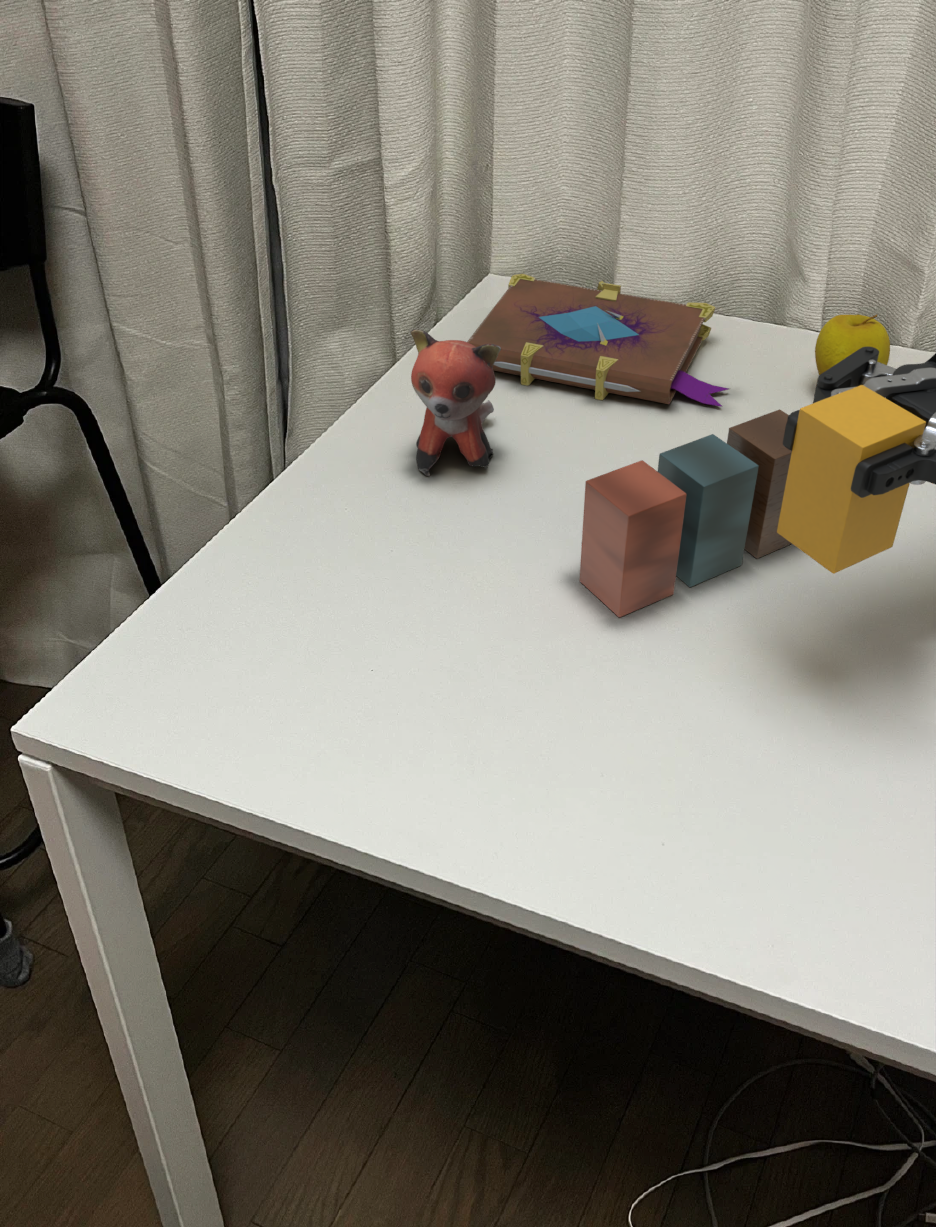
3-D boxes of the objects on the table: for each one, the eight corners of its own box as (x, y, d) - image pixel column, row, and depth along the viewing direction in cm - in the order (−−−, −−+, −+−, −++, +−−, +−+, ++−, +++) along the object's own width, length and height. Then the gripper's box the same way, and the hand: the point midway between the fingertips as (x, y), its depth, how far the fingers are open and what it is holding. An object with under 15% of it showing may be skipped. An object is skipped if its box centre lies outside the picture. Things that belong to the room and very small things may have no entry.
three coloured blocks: (762, 506, 96) (779, 408, 90) (805, 538, 93) (827, 438, 87) (578, 581, 89) (585, 480, 83) (619, 618, 86) (628, 516, 80)
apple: (892, 404, 108) (913, 323, 103) (827, 413, 107) (844, 332, 102) (859, 370, 113) (877, 291, 107) (796, 379, 112) (811, 299, 106)
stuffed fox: (520, 421, 106) (522, 296, 99) (492, 492, 98) (492, 361, 90) (438, 412, 108) (433, 287, 100) (404, 481, 99) (396, 351, 92)
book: (715, 430, 106) (721, 381, 103) (459, 379, 114) (457, 332, 110) (756, 339, 117) (762, 293, 114) (520, 298, 125) (520, 254, 121)
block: (834, 507, 77) (862, 384, 71) (892, 547, 74) (926, 421, 68) (776, 532, 75) (799, 407, 69) (833, 574, 72) (862, 447, 66)
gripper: (947, 279, 78) (747, 348, 71) (1143, 372, 68) (934, 461, 62) (920, 381, 83) (731, 454, 76) (1100, 480, 73) (901, 574, 67)
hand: (823, 457), depth 69 cm, fingers closed on block, 5 cm apart
